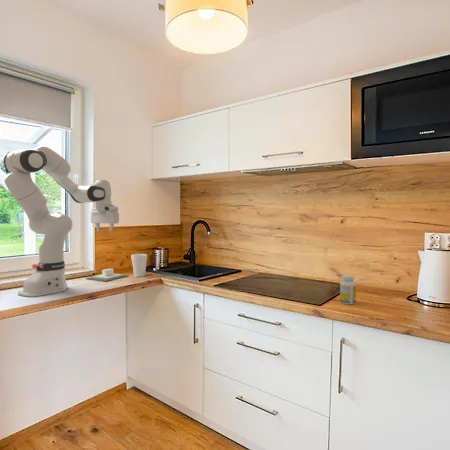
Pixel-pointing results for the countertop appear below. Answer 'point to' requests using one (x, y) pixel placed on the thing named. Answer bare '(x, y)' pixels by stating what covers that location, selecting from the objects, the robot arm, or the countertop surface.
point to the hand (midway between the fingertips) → (104, 231)
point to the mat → (106, 279)
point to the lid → (107, 274)
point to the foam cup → (139, 264)
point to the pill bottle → (348, 290)
